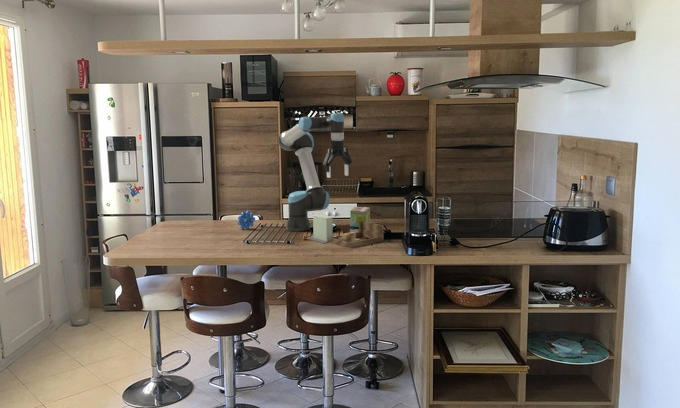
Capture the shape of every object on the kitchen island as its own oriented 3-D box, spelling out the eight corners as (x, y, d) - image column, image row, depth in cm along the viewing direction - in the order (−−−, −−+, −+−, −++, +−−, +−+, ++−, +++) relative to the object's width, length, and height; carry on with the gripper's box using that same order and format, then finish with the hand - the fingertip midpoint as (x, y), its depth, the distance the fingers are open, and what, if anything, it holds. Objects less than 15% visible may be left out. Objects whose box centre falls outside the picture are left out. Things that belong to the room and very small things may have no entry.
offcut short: (345, 240, 308) (345, 234, 308) (341, 239, 311) (341, 234, 310) (355, 237, 314) (355, 232, 313) (351, 237, 316) (351, 231, 316)
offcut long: (338, 243, 313) (338, 238, 313) (340, 242, 316) (339, 237, 316) (358, 245, 309) (358, 239, 309) (360, 243, 312) (360, 238, 312)
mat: (306, 238, 324) (306, 238, 324) (322, 235, 332) (322, 234, 332) (323, 243, 312) (323, 242, 312) (339, 240, 320) (339, 239, 320)
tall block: (313, 237, 325) (313, 215, 323) (319, 236, 328) (319, 214, 326) (326, 241, 316) (326, 218, 314) (332, 239, 319) (332, 217, 317)
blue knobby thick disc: (257, 228, 355) (257, 209, 353) (254, 230, 348) (253, 211, 346) (240, 227, 357) (239, 208, 355) (236, 229, 351) (235, 210, 349)
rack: (329, 242, 315) (328, 226, 313) (361, 235, 331) (361, 220, 329) (350, 248, 301) (350, 231, 300) (383, 240, 317) (383, 225, 316)
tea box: (366, 235, 331) (366, 210, 329) (349, 235, 333) (349, 210, 331) (370, 230, 346) (370, 206, 343) (354, 229, 348) (354, 206, 345)
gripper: (324, 141, 315) (325, 178, 318) (357, 139, 330) (357, 175, 334) (316, 140, 320) (317, 177, 324) (349, 139, 336) (349, 174, 340)
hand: (337, 176), depth 329 cm, fingers open, 13 cm apart
